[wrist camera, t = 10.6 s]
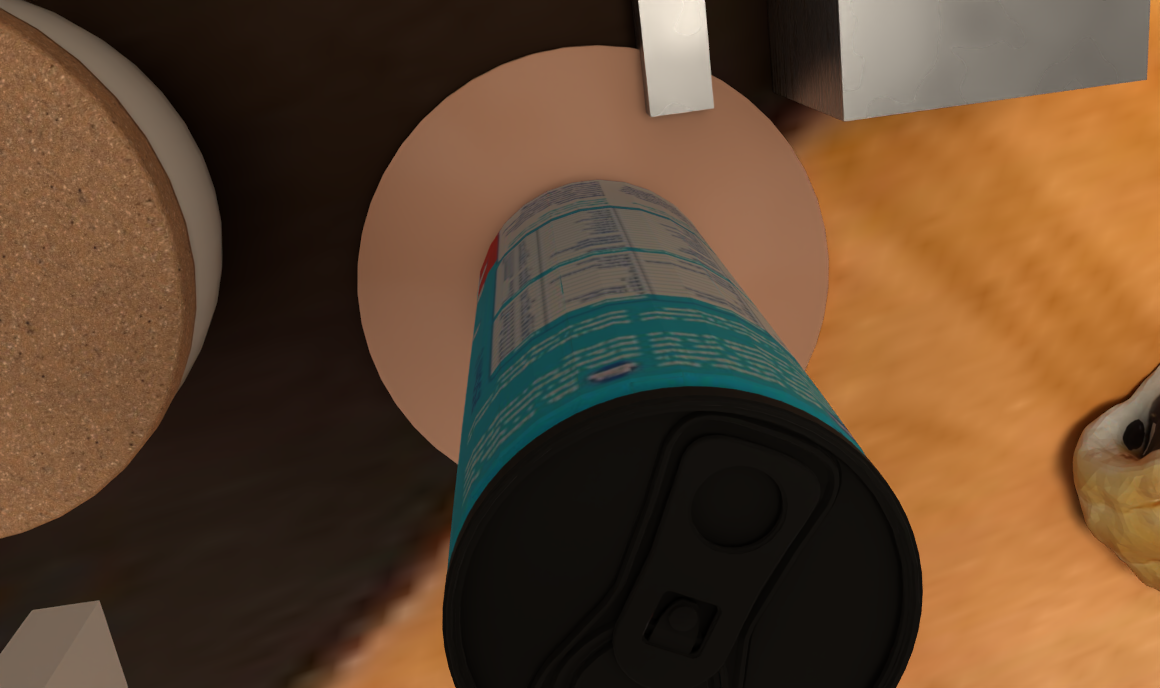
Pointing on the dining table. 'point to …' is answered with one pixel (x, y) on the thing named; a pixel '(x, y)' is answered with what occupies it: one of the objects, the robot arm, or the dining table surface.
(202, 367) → the dining table surface
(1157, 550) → the pastry
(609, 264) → the beverage can
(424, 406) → the coaster
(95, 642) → the robot arm
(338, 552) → the dining table surface
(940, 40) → the dumbbell
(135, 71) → the lidded jar
